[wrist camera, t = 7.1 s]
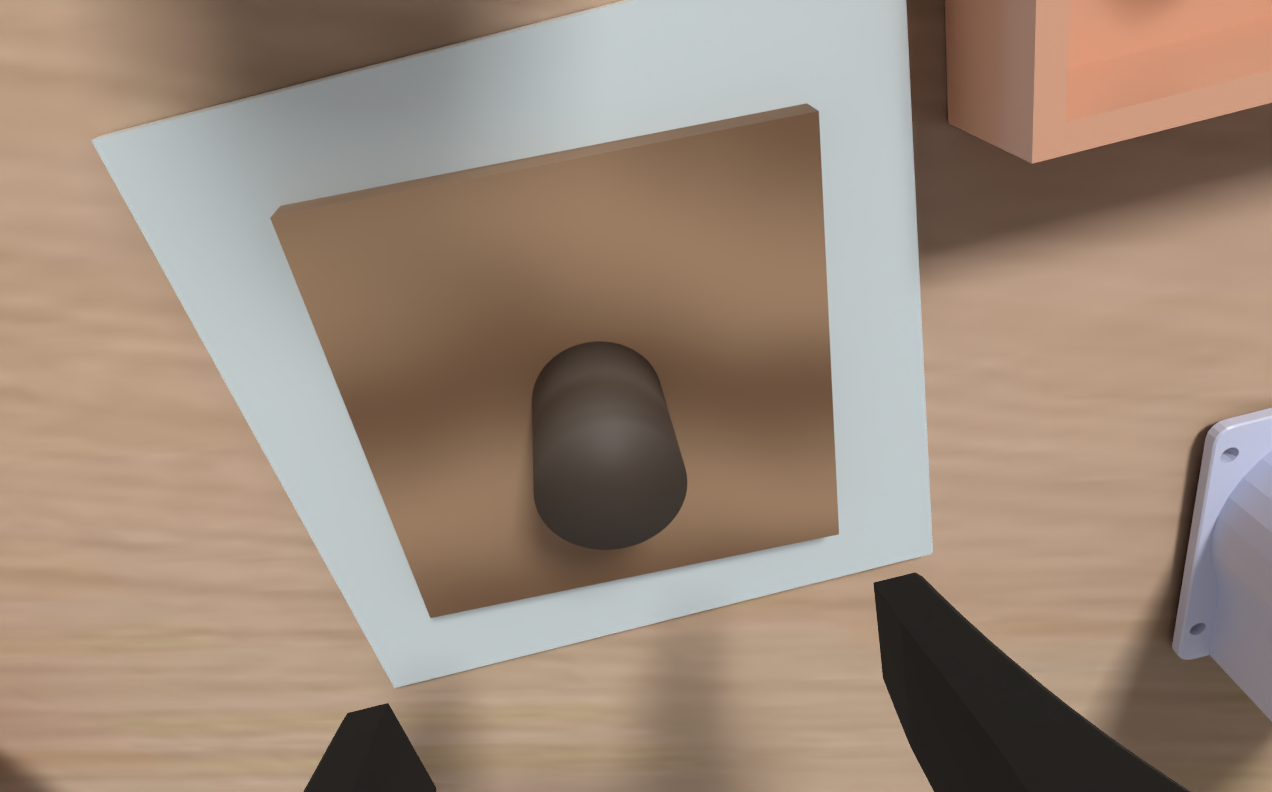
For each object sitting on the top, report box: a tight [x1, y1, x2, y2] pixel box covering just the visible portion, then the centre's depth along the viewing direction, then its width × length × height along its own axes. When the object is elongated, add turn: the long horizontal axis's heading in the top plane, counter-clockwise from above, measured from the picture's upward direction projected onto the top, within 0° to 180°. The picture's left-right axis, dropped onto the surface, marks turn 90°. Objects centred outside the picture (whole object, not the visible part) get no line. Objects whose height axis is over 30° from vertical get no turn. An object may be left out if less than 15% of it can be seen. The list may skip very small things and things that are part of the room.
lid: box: [270, 103, 839, 618], centre depth 18 cm, size 11×11×4 cm
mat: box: [91, 0, 933, 688], centre depth 20 cm, size 16×16×1 cm
